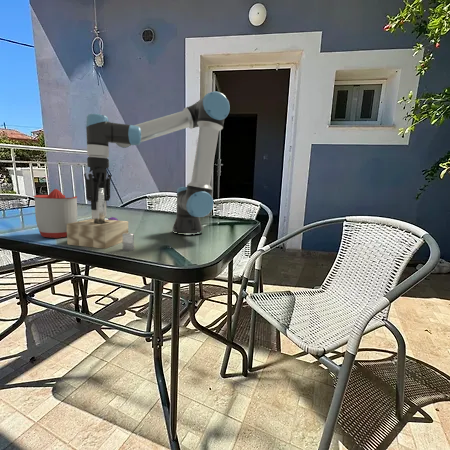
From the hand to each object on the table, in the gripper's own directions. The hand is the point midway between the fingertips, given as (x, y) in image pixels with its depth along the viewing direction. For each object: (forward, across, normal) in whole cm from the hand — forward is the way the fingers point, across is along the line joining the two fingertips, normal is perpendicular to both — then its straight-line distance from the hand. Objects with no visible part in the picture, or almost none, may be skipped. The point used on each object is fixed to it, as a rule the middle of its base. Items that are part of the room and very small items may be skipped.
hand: (99, 217), depth 107 cm
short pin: (+10, +6, +16) cm, 20 cm away
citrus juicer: (+10, -4, -22) cm, 25 cm away
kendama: (+11, -20, -12) cm, 26 cm away
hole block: (+10, 0, 0) cm, 10 cm away
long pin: (+4, 0, 0) cm, 4 cm away
